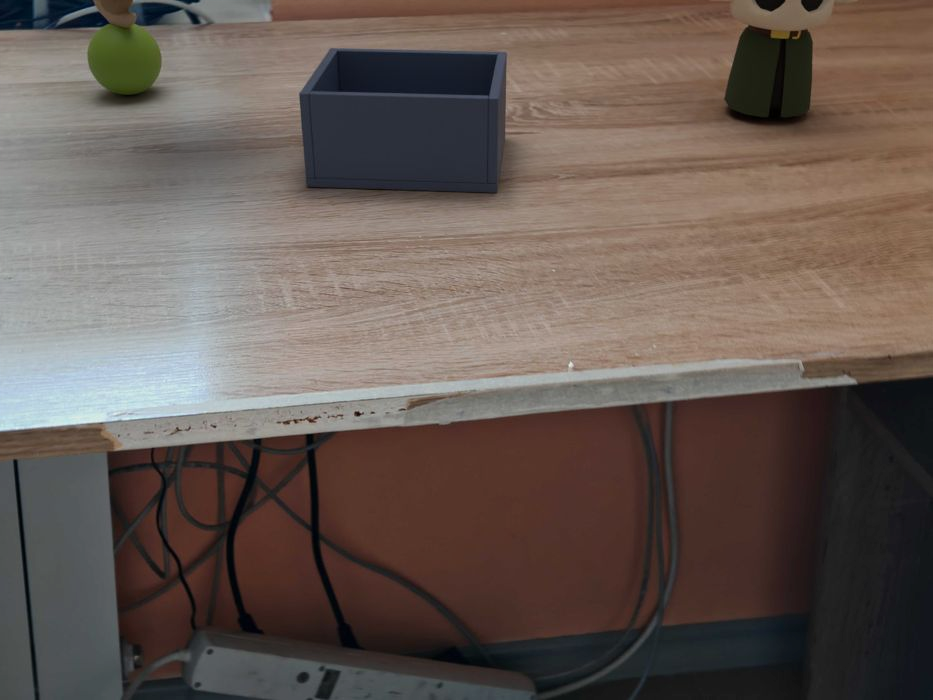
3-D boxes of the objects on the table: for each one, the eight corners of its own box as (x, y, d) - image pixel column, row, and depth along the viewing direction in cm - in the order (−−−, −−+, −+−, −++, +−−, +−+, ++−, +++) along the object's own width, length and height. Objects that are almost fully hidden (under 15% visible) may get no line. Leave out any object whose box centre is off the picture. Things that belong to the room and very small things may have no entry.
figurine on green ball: (135, 76, 88) (110, -81, 82) (180, 92, 84) (156, -70, 78) (74, 90, 85) (43, -71, 79) (117, 109, 81) (88, -60, 75)
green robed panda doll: (697, 126, 78) (719, -65, 71) (686, 95, 84) (704, -84, 77) (851, 129, 77) (888, -64, 70) (829, 97, 83) (860, -82, 76)
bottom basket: (306, 187, 68) (298, 93, 65) (335, 132, 76) (330, 47, 73) (497, 193, 67) (498, 98, 64) (505, 137, 76) (506, 51, 73)
